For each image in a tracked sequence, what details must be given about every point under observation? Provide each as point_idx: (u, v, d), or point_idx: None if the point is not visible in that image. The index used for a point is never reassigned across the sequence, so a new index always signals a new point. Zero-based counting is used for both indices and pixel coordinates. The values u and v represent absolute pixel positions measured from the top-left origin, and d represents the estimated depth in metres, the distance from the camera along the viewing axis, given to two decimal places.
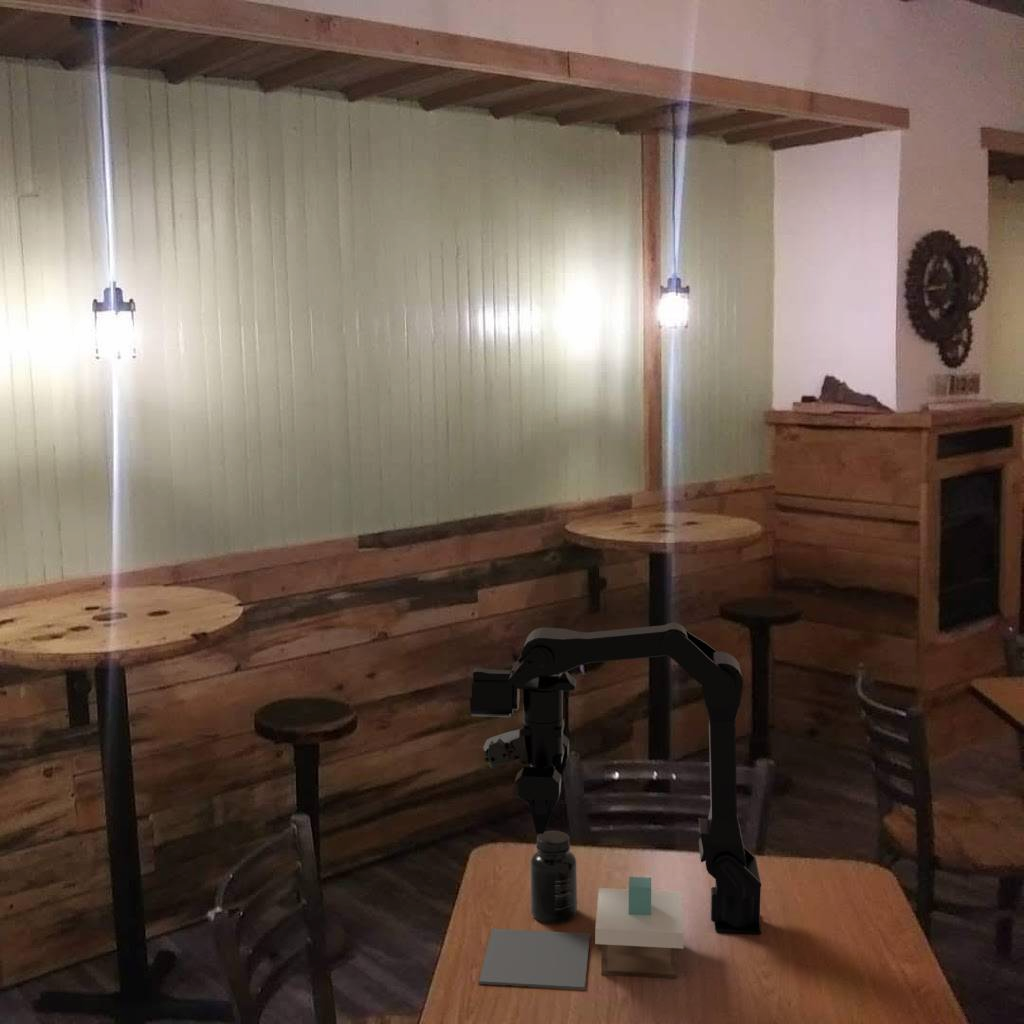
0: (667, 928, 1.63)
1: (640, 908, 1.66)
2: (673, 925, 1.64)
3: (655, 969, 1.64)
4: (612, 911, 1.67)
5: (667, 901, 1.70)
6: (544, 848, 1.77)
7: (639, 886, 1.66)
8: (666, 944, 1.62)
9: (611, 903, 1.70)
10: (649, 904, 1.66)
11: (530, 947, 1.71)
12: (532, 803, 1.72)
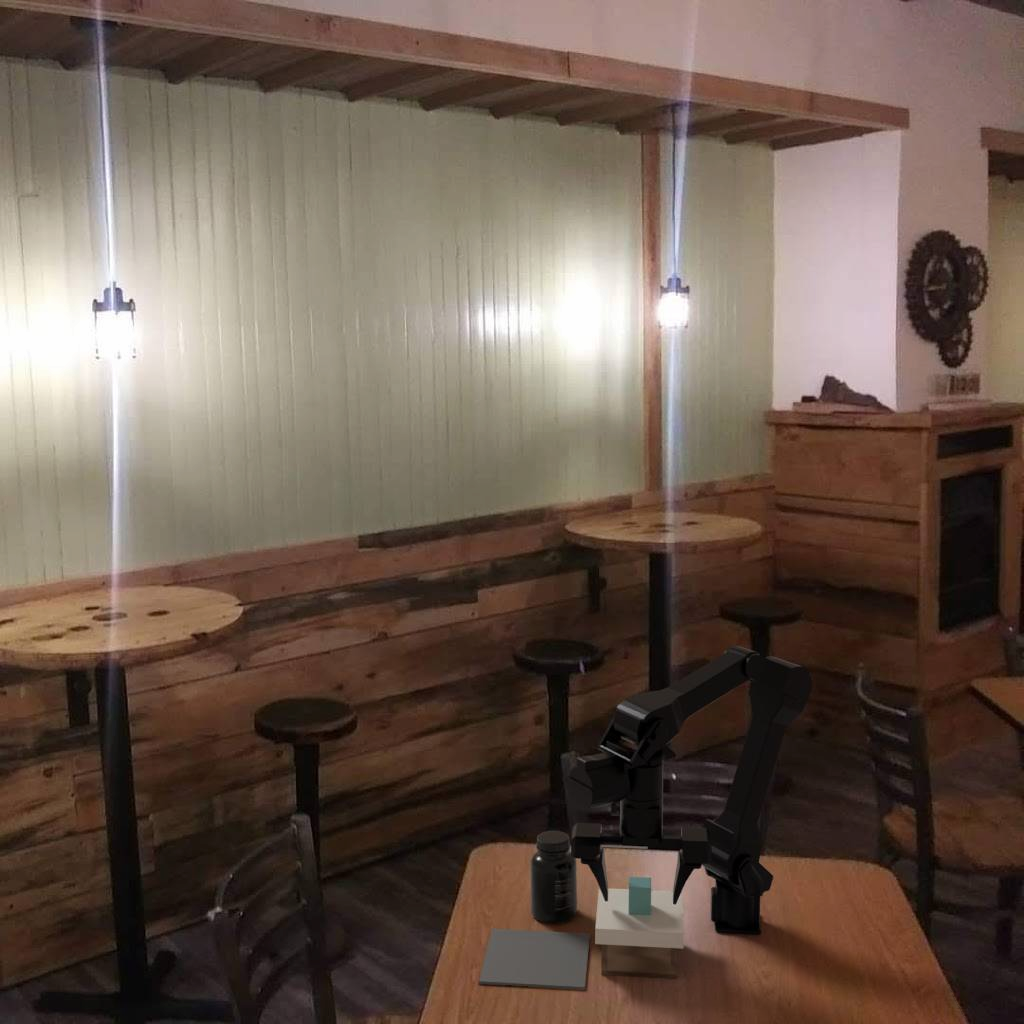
0: (667, 928, 1.63)
1: (640, 908, 1.66)
2: (673, 925, 1.64)
3: (655, 969, 1.64)
4: (612, 911, 1.67)
5: (667, 901, 1.70)
6: (544, 848, 1.77)
7: (639, 886, 1.66)
8: (666, 944, 1.62)
9: (611, 903, 1.70)
10: (649, 904, 1.66)
11: (530, 947, 1.71)
12: None
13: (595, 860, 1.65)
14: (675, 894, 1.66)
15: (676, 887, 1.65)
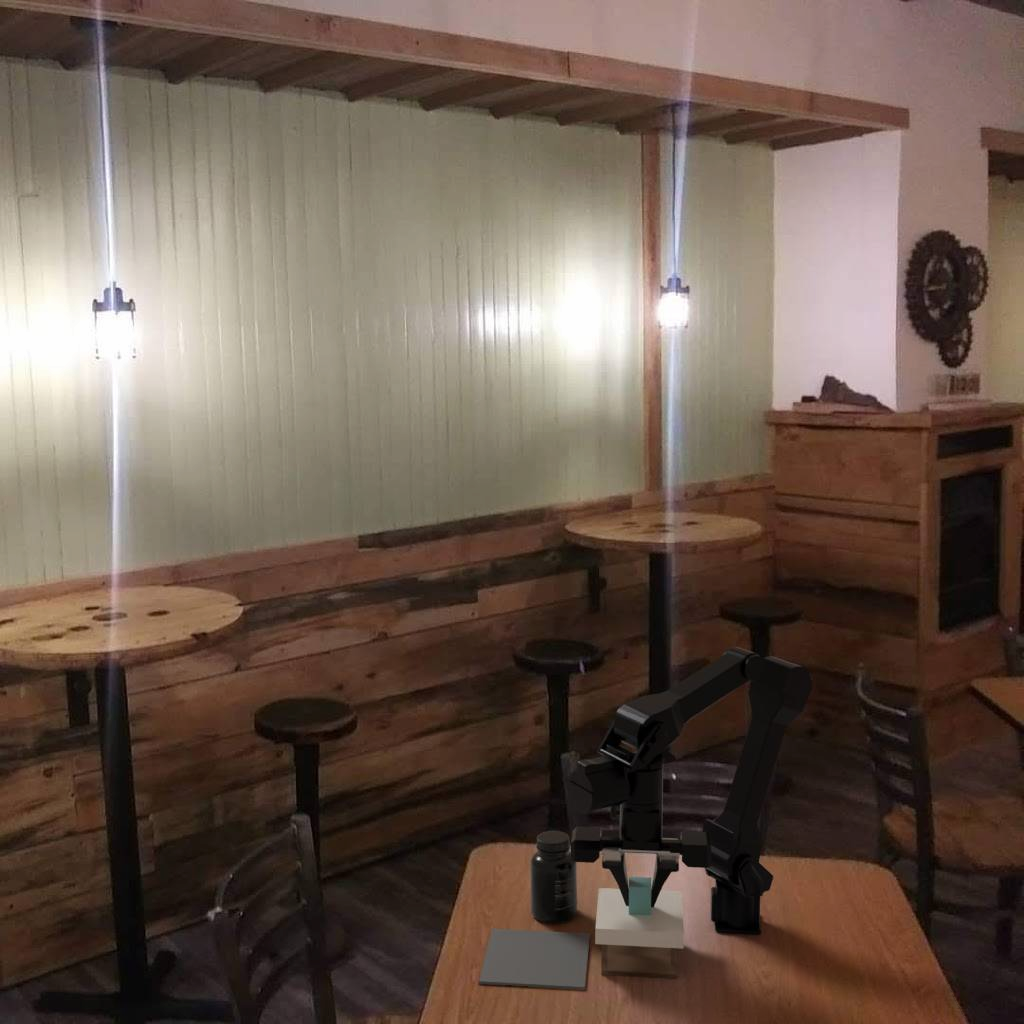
0: (667, 928, 1.63)
1: (640, 908, 1.66)
2: (673, 925, 1.64)
3: (655, 969, 1.64)
4: (612, 911, 1.67)
5: (667, 901, 1.70)
6: (544, 848, 1.77)
7: (639, 886, 1.66)
8: (666, 944, 1.62)
9: (611, 903, 1.70)
10: (649, 904, 1.66)
11: (530, 947, 1.71)
12: None
13: (617, 865, 1.64)
14: (653, 897, 1.66)
15: (654, 890, 1.65)
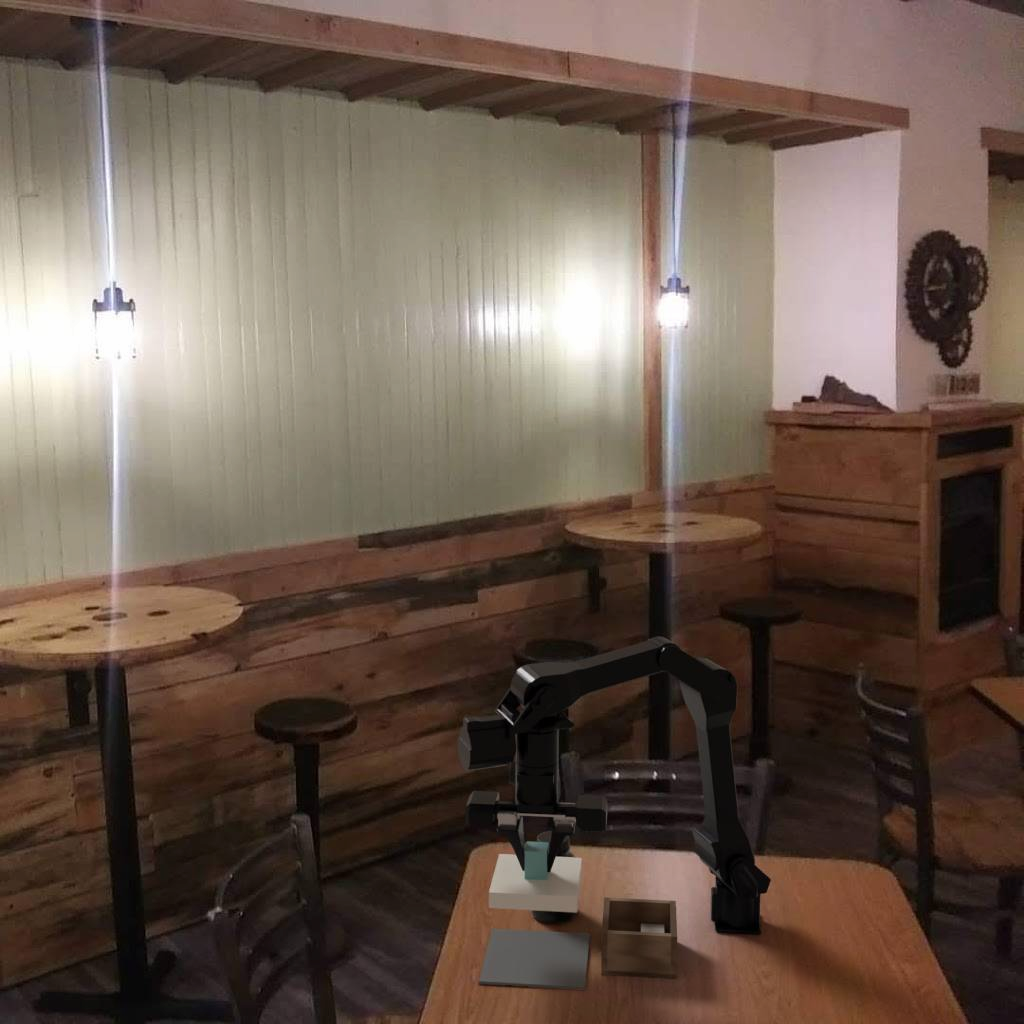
0: (561, 891, 1.61)
1: (536, 872, 1.65)
2: (568, 889, 1.62)
3: (655, 969, 1.64)
4: (508, 876, 1.66)
5: (566, 866, 1.69)
6: None
7: (535, 850, 1.65)
8: (559, 908, 1.61)
9: (509, 868, 1.68)
10: (545, 868, 1.65)
11: (530, 947, 1.71)
12: None
13: (511, 828, 1.63)
14: (549, 861, 1.65)
15: (549, 854, 1.64)
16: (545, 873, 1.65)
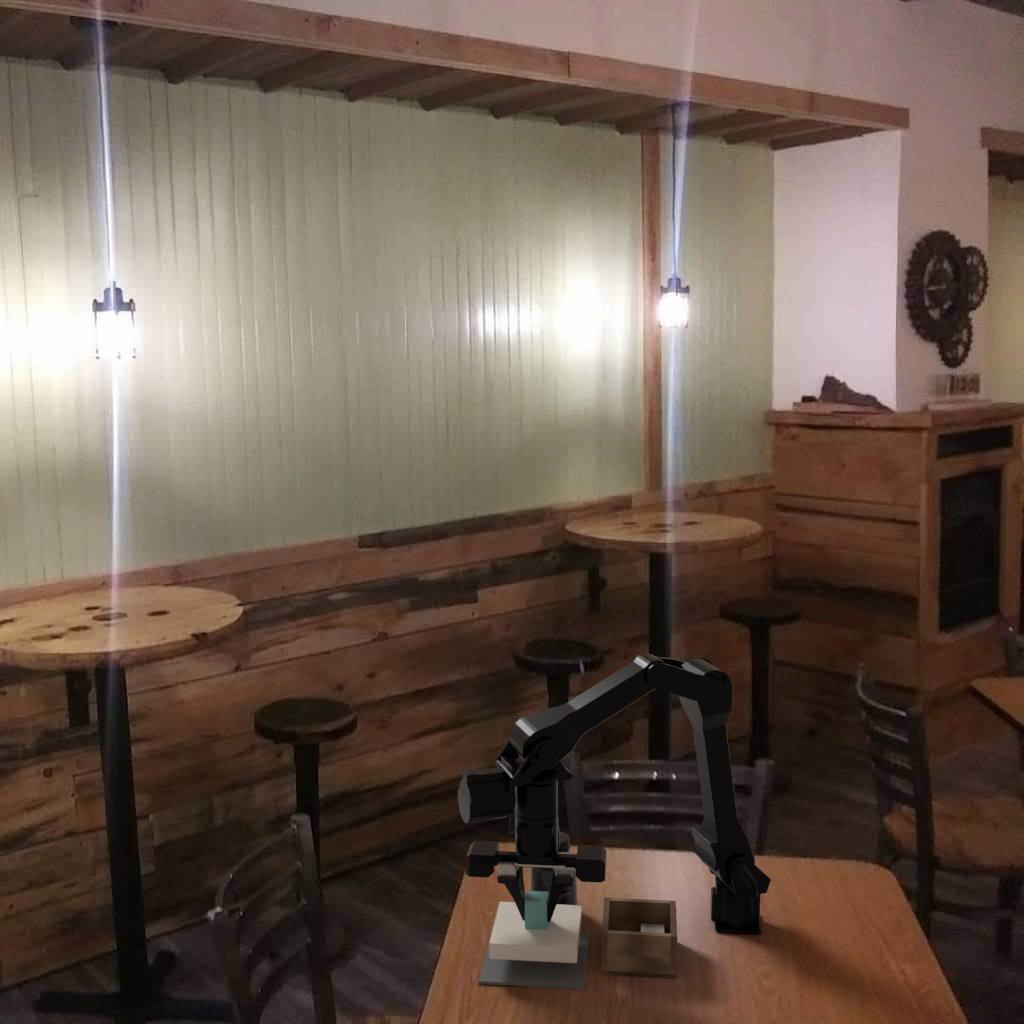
0: (561, 942, 1.63)
1: (536, 922, 1.66)
2: (567, 939, 1.63)
3: (655, 969, 1.64)
4: (509, 925, 1.67)
5: (566, 915, 1.70)
6: None
7: (535, 900, 1.66)
8: (559, 959, 1.62)
9: (509, 917, 1.69)
10: (545, 918, 1.66)
11: None
12: None
13: (511, 879, 1.64)
14: (549, 911, 1.66)
15: (549, 904, 1.65)
16: (545, 923, 1.66)
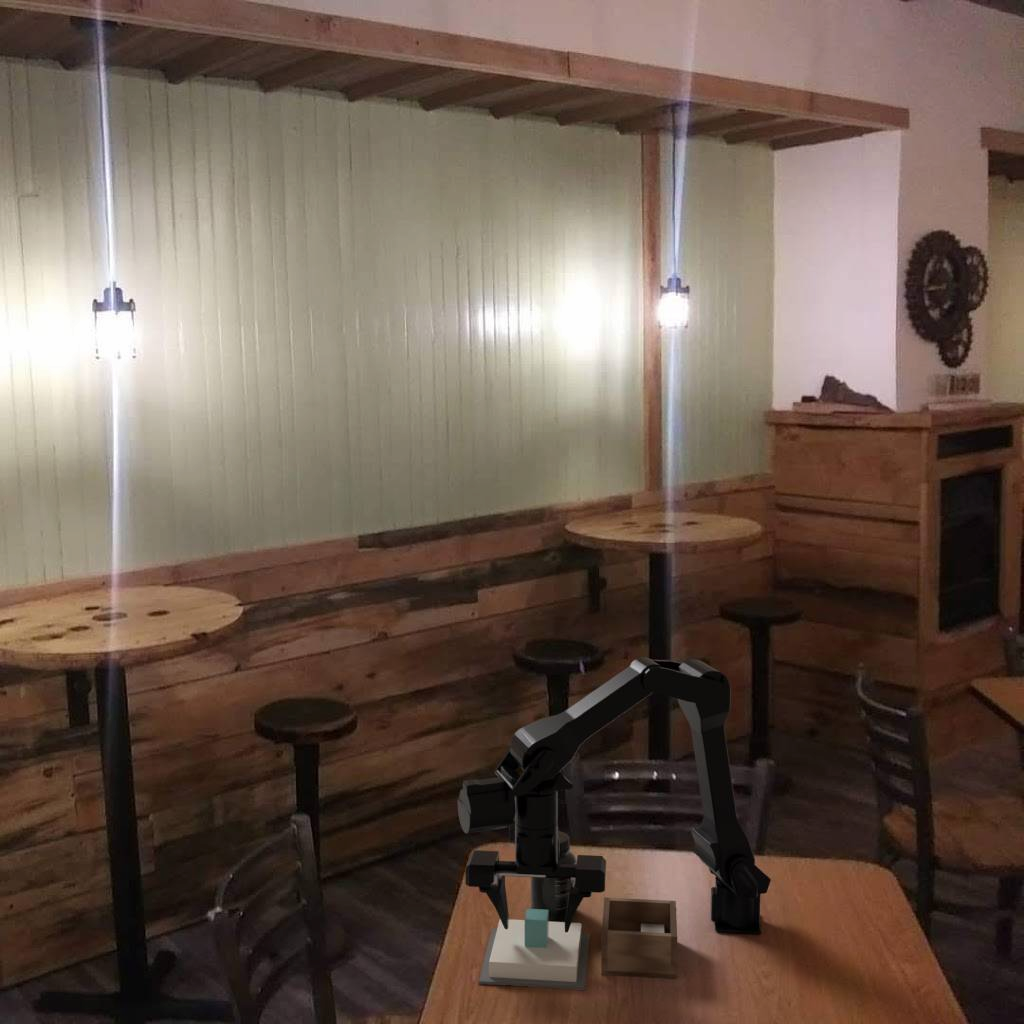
0: (561, 961, 1.63)
1: (536, 941, 1.66)
2: (567, 958, 1.64)
3: (655, 969, 1.64)
4: (509, 943, 1.68)
5: (565, 933, 1.70)
6: None
7: (535, 918, 1.66)
8: (559, 977, 1.62)
9: (509, 935, 1.70)
10: (545, 937, 1.66)
11: None
12: None
13: (493, 888, 1.65)
14: (566, 922, 1.66)
15: (567, 915, 1.65)
16: (545, 941, 1.66)
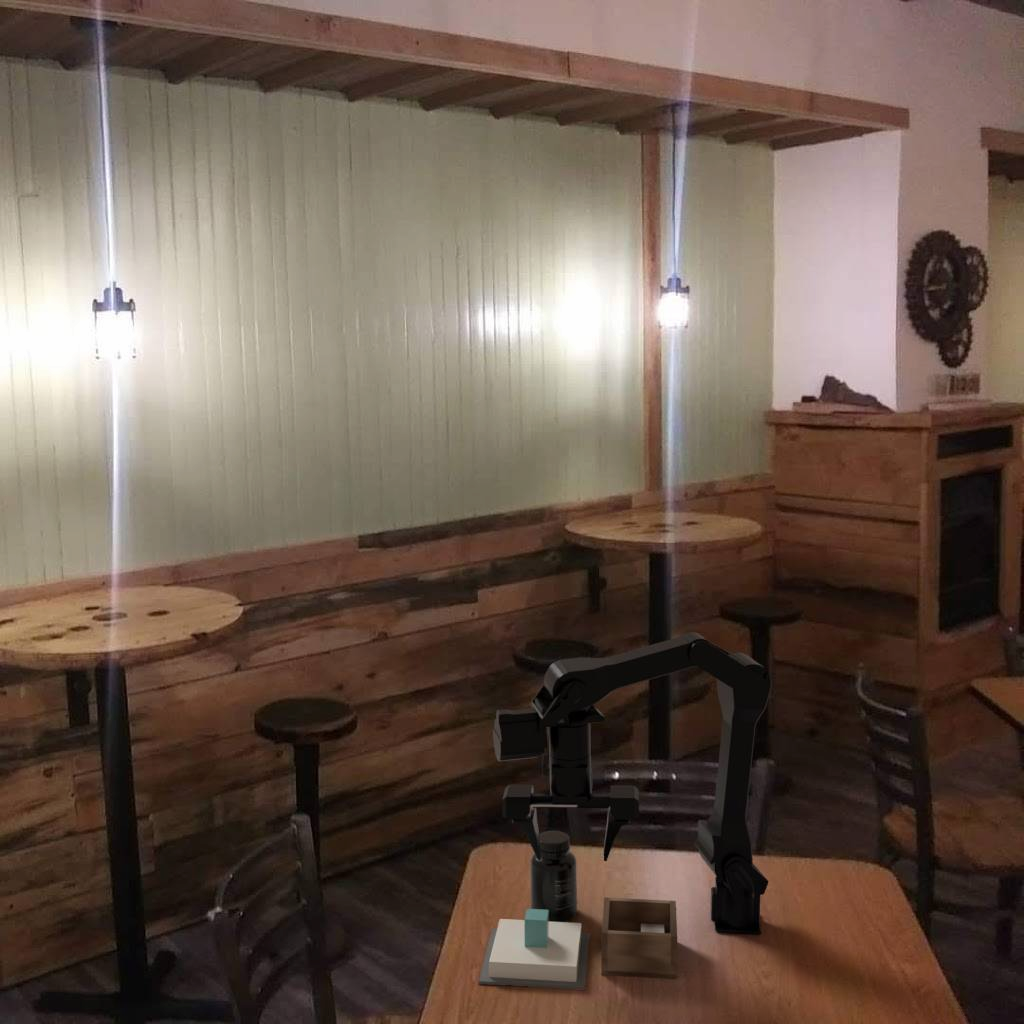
0: (561, 961, 1.63)
1: (536, 941, 1.66)
2: (567, 958, 1.64)
3: (655, 969, 1.64)
4: (509, 943, 1.68)
5: (565, 933, 1.70)
6: (544, 848, 1.77)
7: (535, 918, 1.66)
8: (559, 977, 1.62)
9: (509, 935, 1.70)
10: (545, 937, 1.66)
11: None
12: None
13: (526, 819, 1.68)
14: (605, 851, 1.70)
15: (606, 844, 1.69)
16: (545, 941, 1.66)
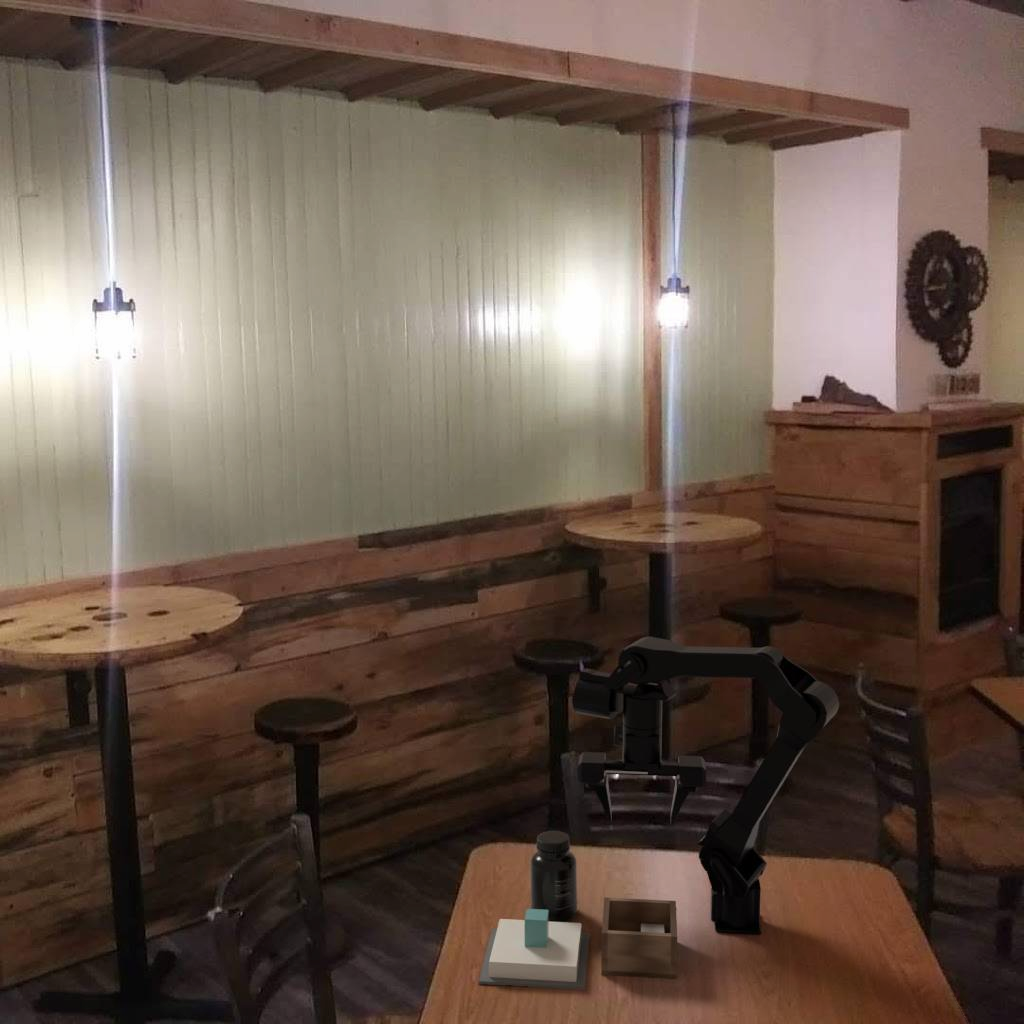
0: (561, 961, 1.63)
1: (536, 941, 1.66)
2: (567, 958, 1.64)
3: (655, 969, 1.64)
4: (509, 943, 1.68)
5: (565, 933, 1.70)
6: (544, 848, 1.77)
7: (535, 918, 1.66)
8: (559, 977, 1.62)
9: (509, 935, 1.70)
10: (545, 937, 1.66)
11: None
12: None
13: (600, 784, 1.81)
14: (672, 816, 1.82)
15: (673, 809, 1.81)
16: (545, 941, 1.66)
